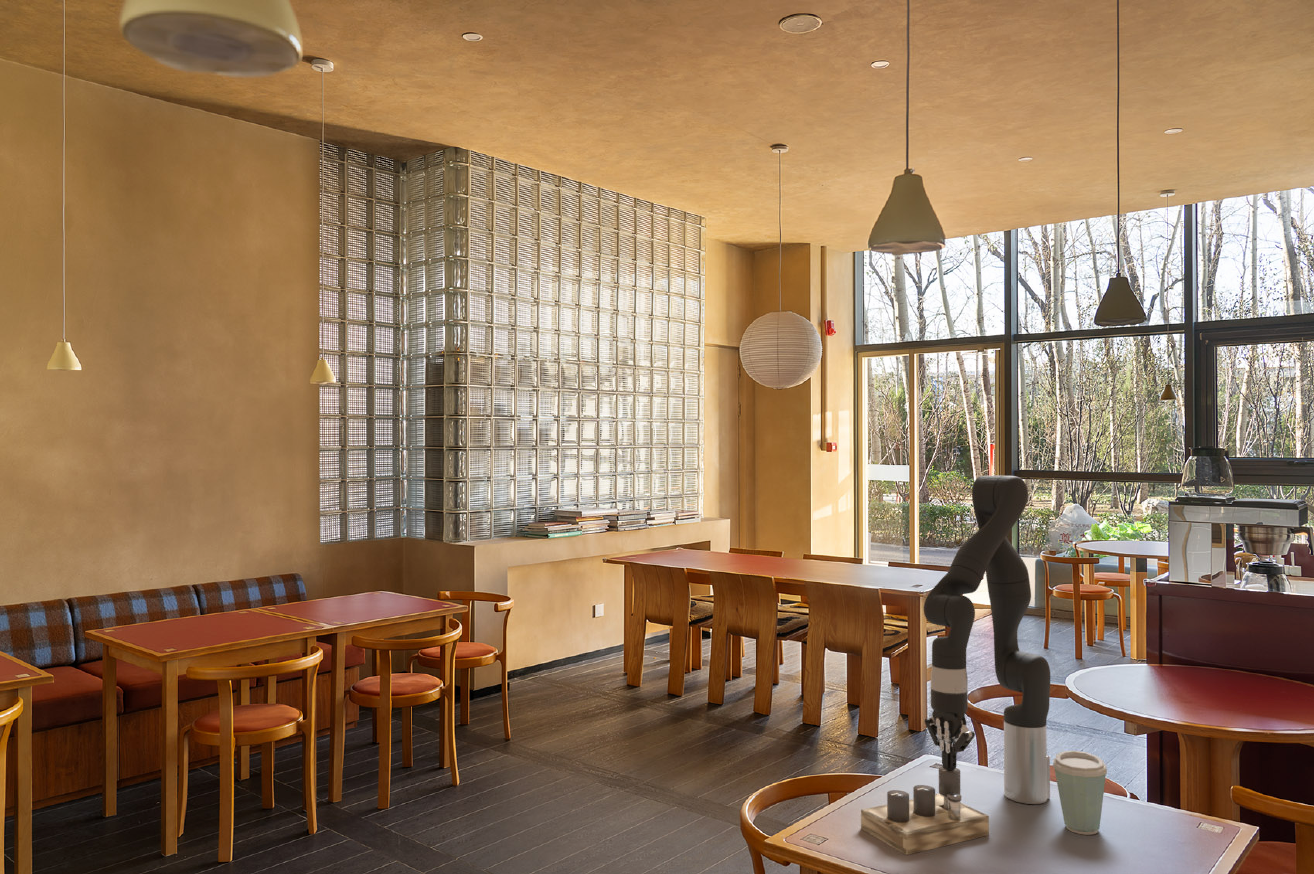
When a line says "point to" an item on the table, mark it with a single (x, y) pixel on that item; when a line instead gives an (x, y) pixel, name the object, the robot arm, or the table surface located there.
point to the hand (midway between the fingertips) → (949, 769)
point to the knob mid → (924, 800)
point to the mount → (925, 827)
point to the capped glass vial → (954, 806)
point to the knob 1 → (898, 806)
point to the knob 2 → (948, 783)
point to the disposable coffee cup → (1080, 790)
